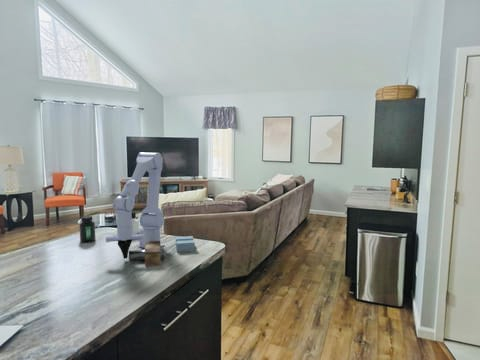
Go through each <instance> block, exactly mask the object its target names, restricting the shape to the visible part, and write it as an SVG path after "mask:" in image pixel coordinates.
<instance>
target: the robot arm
mask: <svg viewBox="0 0 480 360" xmlns="http://www.w3.org/2000/svg"><path fill="white" fill-rule="evenodd" d="M135 160H136V161H135V162H136V167H135V169H134V171H133V172H132V173H133V174H132V176H131V178H130V180H128V181H126V183H125V184H124V186H123V188H122V190H121V192H120V193H119V196H117V197H115V198H114V199H113V203H112V208H113V210H114V214H115V215H116V232H117V234H114V235H109V236H106V235H105V243H109V242H111V243H113V242H117V246H118V248H119V249H120V250H121V253H122V257H123V259H128V258H129V251H130V248H131V247H130V246H131V245H132V242H133V241H138V243H139V245H137V246H138V247H139V248H142V249H145V247H146V242H147V241H160V242H161V229H162V227H163V225H164V222H165V217H164V212H163V210H162V209H160V208H159V200H160V188H161V174H162V173H161V172H162V171H163V163H164V157H163V156H162V153H160V152H143V151H140V152H139V153H138V154H137V157H136V159H135ZM146 172H147V173H148V180H147V181H148V182H147V183H148V185H147V198H146V207H145V208H143V210H141V214H140V217H139V225H140V226H141V228H140V229H139V233H137V234H132V211H133V209H134V208H135V205H136V196H137V194H138V192H139V189H140V188H141V187H140V182H141V180H142V179H143V177H144V175H145V174H146ZM164 246H165V244H163V243H160V247H164Z"/></svg>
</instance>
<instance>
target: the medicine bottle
mask: <svg viewBox="0 0 480 360" xmlns="http://www.w3.org/2000/svg"><path fill="white" fill-rule="evenodd" d="M131 211H132V234H139V232H140V219H137V218H136V213H137V212H135V211H133V210H131Z"/></svg>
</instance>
